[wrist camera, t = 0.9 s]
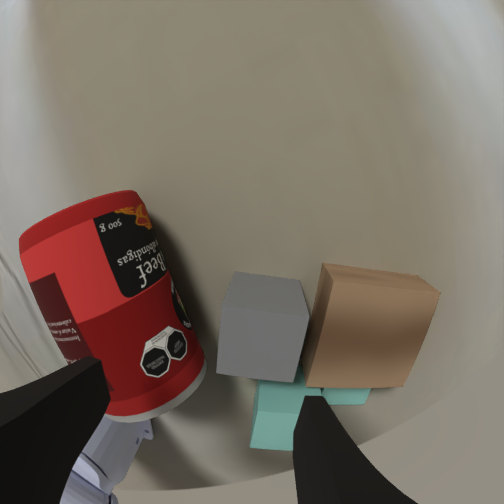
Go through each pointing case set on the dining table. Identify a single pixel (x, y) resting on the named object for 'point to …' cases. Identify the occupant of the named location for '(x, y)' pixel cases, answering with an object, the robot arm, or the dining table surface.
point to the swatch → (345, 395)
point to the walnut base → (366, 327)
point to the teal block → (278, 411)
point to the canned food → (114, 303)
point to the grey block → (262, 327)
